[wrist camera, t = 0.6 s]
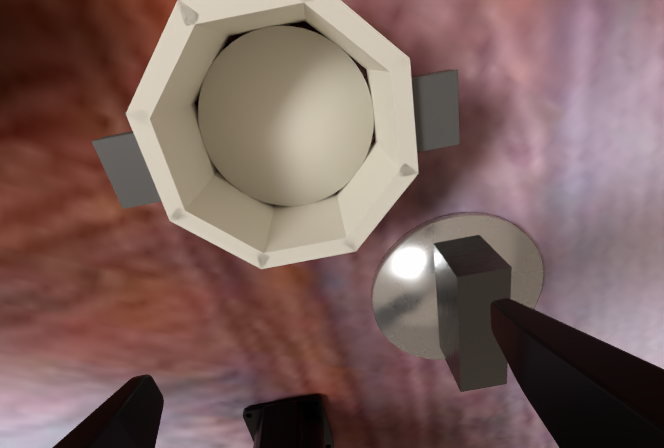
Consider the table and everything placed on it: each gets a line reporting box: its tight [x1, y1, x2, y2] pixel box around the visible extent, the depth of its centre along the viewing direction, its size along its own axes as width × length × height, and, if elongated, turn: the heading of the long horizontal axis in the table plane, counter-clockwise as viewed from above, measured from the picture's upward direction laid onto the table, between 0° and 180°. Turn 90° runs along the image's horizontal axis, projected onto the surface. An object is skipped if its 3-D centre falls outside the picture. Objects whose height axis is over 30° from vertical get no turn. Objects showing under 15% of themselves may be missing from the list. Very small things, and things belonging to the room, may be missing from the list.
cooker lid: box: [371, 212, 543, 392], centre depth 23 cm, size 12×12×5 cm
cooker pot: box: [92, 0, 460, 269], centre depth 17 cm, size 11×15×6 cm
